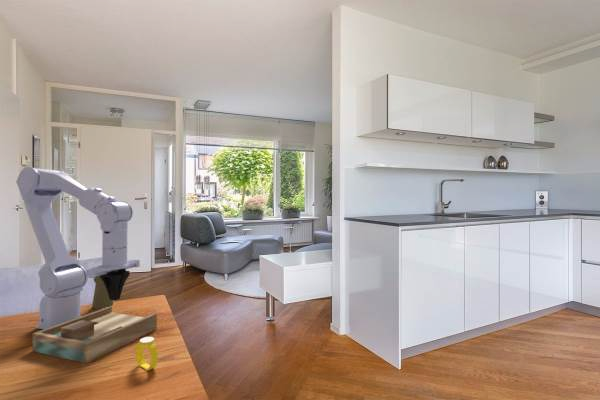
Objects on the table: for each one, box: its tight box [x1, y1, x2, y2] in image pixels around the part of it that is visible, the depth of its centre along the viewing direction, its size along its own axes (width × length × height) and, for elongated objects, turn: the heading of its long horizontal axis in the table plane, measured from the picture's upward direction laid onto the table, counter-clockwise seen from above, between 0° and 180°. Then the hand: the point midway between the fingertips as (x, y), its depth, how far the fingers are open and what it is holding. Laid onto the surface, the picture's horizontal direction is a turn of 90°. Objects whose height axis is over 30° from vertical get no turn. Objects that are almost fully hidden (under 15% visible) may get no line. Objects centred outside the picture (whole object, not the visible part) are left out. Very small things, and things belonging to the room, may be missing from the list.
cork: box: [91, 276, 114, 310], centre depth 107 cm, size 6×6×11 cm
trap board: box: [31, 306, 158, 364], centre depth 82 cm, size 17×20×4 cm
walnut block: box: [61, 320, 94, 340], centre depth 77 cm, size 4×5×3 cm
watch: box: [135, 336, 159, 372], centre depth 68 cm, size 6×3×6 cm, turn 55°
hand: (114, 299), depth 87 cm, fingers closed
